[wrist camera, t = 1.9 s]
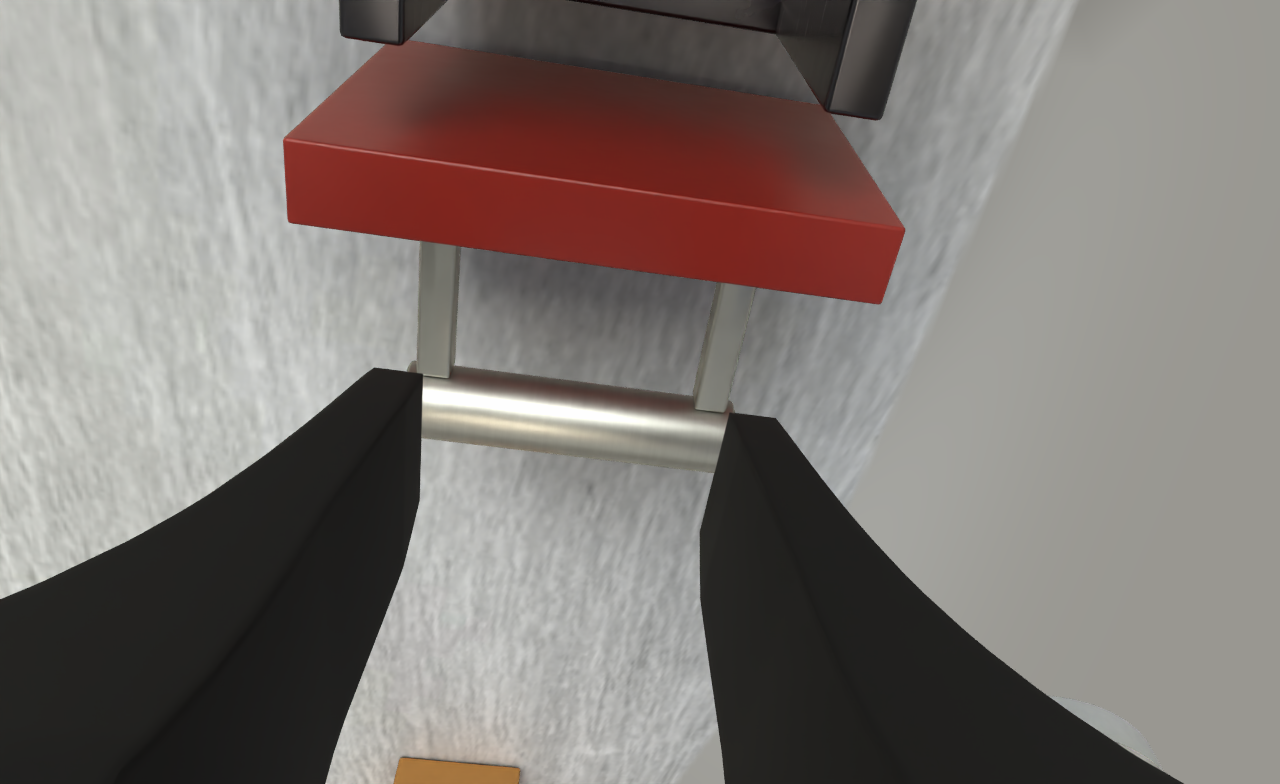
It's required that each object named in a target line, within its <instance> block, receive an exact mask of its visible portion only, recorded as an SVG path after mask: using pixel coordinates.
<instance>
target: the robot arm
mask: <svg viewBox="0 0 1280 784" xmlns="http://www.w3.org/2000/svg"><path fill="white" fill-rule="evenodd" d="M422 398H423V374H422V373H414V372H406V371H398V370H390V369H382V368H373V369H372V370H370V371H369V372H367V373H366V374H365V375H364V376H362V377H361V378H360V379H359V380H357V381H356V382H355V383H354V384H353V385H351V386H350V387H349V388H348V389H347V390H346V391H344V392H343V393H342V394H341V395H340V396H338V397H337V398H336V399H335V400H334V401H333V402H331V403H330V404H329V405H328V406H327V407H325V408H324V409H323V410H322V411H321V412H319V413H318V414H317V415H316V416H315V417H313V418H312V419H311V420H310V421H308V422H307V423H306V424H305V425H303V426H302V427H301V428H299V429H298V430H297V431H296V432H294V433H293V434H292V435H291V436H289V437H288V438H287V439H285V440H284V441H283V442H282V443H280V444H279V445H278V446H276V447H275V448H274V449H273V450H271V451H270V452H269V453H267V454H266V455H265V456H263V457H262V458H261V459H259V460H258V461H256V462H255V463H253V464H252V465H251V466H249V467H248V468H246V469H245V470H243V471H242V472H240V473H239V474H238V475H236V476H235V477H233V478H232V479H230V480H229V481H228V482H226V483H225V484H223V485H222V486H220V487H219V488H217V489H216V490H215V491H213V492H212V493H210V494H209V495H207V496H205V497H204V498H202V499H201V500H199V501H197V502H196V503H194V504H192V505H191V506H189V507H188V508H186V509H184V510H183V511H181V512H179V513H177V514H176V515H174V516H172V517H170V518H169V519H167V520H165V521H163V522H161V523H160V524H158V525H156V526H154V527H153V528H151V529H149V530H147V531H145V532H144V533H142V534H140V535H138V536H136V537H134V538H132V539H130V540H129V541H127V542H125V543H123V544H121V545H119V546H116V547H114V548H112V549H110V550H108V551H106V552H104V553H102V554H100V555H98V556H96V557H93V558H91V559H89V560H87V561H85V562H83V563H81V564H79V565H77V566H75V567H72V568H70V569H68V570H66V571H64V572H62V573H60V574H58V575H56V576H54V577H52V578H49V579H47V580H45V581H43V582H41V583H38V584H36V585H34V586H31V587H29V588H27V589H24V590H22V591H19V592H17V593H15V594H12V595H10V596H7V597H5V598H3V599H0V784H325V783H326V779H327V775H328V772H329V768H330V764H331V761H332V757H333V753H334V750H335V747H336V744H337V741H338V738H339V735H340V732H341V729H342V727H343V724H344V721H345V718H346V715H347V712H348V710H349V707H350V705H351V702H352V699H353V697H354V694H355V692H356V689H357V687H358V684H359V681H360V679H361V676H362V674H363V671H364V668H365V666H366V663H367V661H368V658H369V656H370V653H371V650H372V648H373V645H374V643H375V640H376V637H377V635H378V632H379V630H380V627H381V625H382V622H383V619H384V617H385V614H386V611H387V609H388V606H389V604H390V601H391V598H392V596H393V593H394V590H395V588H396V585H397V583H398V580H399V577H400V574H401V572H402V569H403V566H404V562H405V558H406V554H407V550H408V546H409V542H410V538H411V534H412V530H413V526H414V521H415V517H416V513H417V509H418V505H419V500H420V467H421V433H422ZM700 600H701V608H702V615H703V623H704V630H705V637H706V645H707V652H708V659H709V666H710V673H711V680H712V687H713V694H714V701H715V708H716V715H717V722H718V729H719V736H720V742H721V749H722V758H723V768H724V779H725V784H1183V783H1182V782H1180V781H1178V780H1177V779H1175V778H1173V777H1171V776H1170V775H1168V774H1166V773H1165V772H1163V771H1161V770H1160V769H1158V768H1156V767H1154V766H1153V765H1151V764H1149V763H1148V762H1146V761H1144V760H1142V759H1141V758H1139V757H1138V756H1136V755H1134V754H1133V753H1131V752H1130V751H1128V750H1126V749H1125V748H1123V747H1122V746H1120V745H1119V744H1117V743H1116V742H1114V741H1113V740H1111V739H1110V738H1108V737H1107V736H1105V735H1104V734H1102V733H1101V732H1099V731H1098V730H1096V729H1095V728H1093V727H1092V726H1090V725H1089V724H1087V723H1086V722H1084V721H1083V720H1081V719H1080V718H1078V717H1077V716H1075V715H1074V714H1072V713H1071V712H1070V711H1068V710H1067V709H1065V708H1064V707H1063V706H1061V705H1060V704H1058V703H1057V702H1056V701H1054V700H1053V699H1051V698H1050V697H1049V696H1047V695H1046V694H1044V693H1043V692H1042V691H1040V690H1039V689H1037V688H1036V687H1035V686H1033V685H1032V684H1031V683H1029V682H1028V681H1027V680H1026V679H1024V678H1023V677H1022V676H1021V675H1019V674H1018V673H1017V672H1015V671H1014V670H1013V669H1012V668H1010V667H1009V666H1008V665H1006V664H1005V663H1004V662H1003V661H1001V660H1000V659H998V658H997V657H996V656H995V655H994V654H992V653H991V652H990V651H988V650H987V649H986V648H985V647H984V646H983V645H981V644H980V643H979V642H978V641H977V640H975V639H974V638H973V637H972V636H971V635H969V634H968V633H967V632H966V631H965V630H964V629H962V628H961V627H960V626H959V625H958V624H957V623H956V622H955V621H954V620H953V619H952V618H950V617H949V616H948V615H947V614H946V613H945V612H944V611H943V610H942V609H941V608H939V607H938V606H937V605H936V604H935V603H934V602H933V601H932V600H931V599H930V598H929V597H927V596H926V595H925V594H924V593H923V592H922V591H921V590H920V589H919V588H918V587H917V586H916V585H915V584H914V583H913V582H912V581H911V580H910V579H909V578H908V577H907V576H906V575H905V574H904V573H903V572H902V571H901V570H900V569H899V568H898V567H897V566H896V565H895V563H894V562H893V561H892V560H891V559H890V558H889V557H888V556H887V555H886V554H885V553H884V552H883V551H882V550H881V548H880V547H879V546H878V545H877V544H876V543H875V542H874V541H873V540H872V539H871V537H870V536H869V535H868V534H867V533H866V532H865V531H864V530H863V528H862V527H861V526H860V525H859V524H858V523H857V521H855V519H854V518H853V517H852V516H851V514H850V513H849V512H848V511H847V509H846V508H845V507H844V506H843V505H842V503H841V502H840V501H839V500H838V498H837V497H836V496H835V495H834V494H833V492H832V491H831V490H830V488H829V487H828V486H827V485H826V483H825V482H824V481H823V480H822V478H821V477H820V476H819V474H818V473H817V472H816V470H815V469H814V468H813V467H812V465H811V464H810V463H809V461H808V460H807V459H806V457H805V456H804V455H803V453H802V452H801V451H800V449H799V448H798V447H797V445H796V444H795V443H794V441H793V440H792V439H791V437H790V436H789V435H788V433H787V432H786V431H785V429H784V428H783V427H782V425H781V424H780V423H779V422H778V420H777V419H776V418H771V417H763V416H755V415H747V414H739V413H731V412H729V416H728V420H727V424H726V428H725V432H724V436H723V440H722V444H721V449H720V453H719V457H718V461H717V465H716V469H715V473H714V477H713V481H712V485H711V489H710V493H709V497H708V501H707V505H706V509H705V513H704V517H703V521H702V525H701V529H700Z"/></svg>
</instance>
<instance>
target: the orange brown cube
mask: <svg viewBox="0 0 1280 784" xmlns="http://www.w3.org/2000/svg"><path fill="white" fill-rule="evenodd" d="M519 777H520V769H519V768H512V767H501V766H489V765H478V764H467V763H456V762H445V761H434V760H423V759H412V758H400V760H399V763H398V767H397V771H396V775H395V779H394V783H393V784H519Z"/></svg>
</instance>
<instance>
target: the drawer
mask: <svg viewBox="0 0 1280 784" xmlns="http://www.w3.org/2000/svg"><path fill="white" fill-rule="evenodd" d="M447 1H448V0H339V19H340V33H341V36H343V37H345V38H349V39H356V40H362V41H369V42H375V43H381V44H385V45H384V46H383V47H382V48H381V49H380V50H379V51H378V52H377V53H376V54H375V55H374V56H372V57H371V58H370V59H369V60H368V61H367V62H366V63H365V64H364V65H363V66H362V67H360V68H359V69H358V70H357V71H356V72H355V73H354V74H353V75H352V76H351V77H350V78H349V79H347V80H346V81H345V82H344V83H343V84H342V85H341V86H340V87H339V88H338V89H337V90H335V91H334V92H333V93H332V94H331V95H330V96H329V97H328V98H327V99H326V100H325V101H324V102H322V103H321V104H320V105H319V106H318V107H317V108H316V109H315V110H314V111H313V112H312V113H310V114H309V115H308V116H307V117H306V118H305V119H304V120H303V121H302V122H301V123H300V124H299V125H297V126H296V127H295V128H294V129H293V130H292V131H291V132H290V133H289V134H288V135H287V136H285V137H284V139H283V148H284V165H285V182H286V199H287V216H288V222H289V223H293V224H301V225H308V226H315V227H322V228H329V229H337V230H344V231H351V232H358V233H366V234H373V235H380V236H387V237H395V238H402V239H409V240H416V241H420V250H419V291H418V332H417V361H412V362H411V363H410V365H409V367H408V369H407V372H414V373H422V374H423V398H422V433H421V438H424V439H433V440H441V441H449V442H458V443H466V444H474V445H483V446H491V447H499V448H508V449H516V450H524V451H533V452H541V453H549V454H558V455H566V456H574V457H583V458H591V459H599V460H608V461H616V462H624V463H633V464H641V465H649V466H657V467H666V468H674V469H682V470H691V471H699V472H707V473H715V469H716V465H717V461H718V457H719V453H720V449H721V444H722V440H723V436H724V432H725V428H726V424H727V420H728V416H729V412H731V413H735V410H734V405H733V403H732V402H731V401H729V396H730V392H731V388H732V384H733V380H734V376H735V372H736V368H737V364H738V359H739V355H740V351H741V347H742V343H743V339H744V335H745V331H746V327H747V323H748V319H749V315H750V310H751V306H752V302H753V298H754V294H755V290H756V288H763V289H771V290H778V291H785V292H792V293H799V294H807V295H814V296H821V297H828V298H836V299H843V300H850V301H857V302H865V303H872V304H881V303H882V300H883V297H884V294H885V291H886V288H887V285H888V282H889V279H890V276H891V273H892V270H893V267H894V264H895V261H896V258H897V255H898V252H899V249H900V246H901V243H902V240H903V237H904V234H905V228H904V226H903V224H902V223H901V221H900V220H899V218H898V217H897V215H896V214H895V212H894V211H893V209H892V208H891V206H890V204H889V203H888V201H887V200H886V198H885V197H884V195H883V194H882V192H881V191H880V189H879V188H878V186H877V184H876V183H875V181H874V180H873V178H872V177H871V175H870V174H869V172H868V171H867V169H866V168H865V166H864V164H863V163H862V161H861V160H860V158H859V157H858V155H857V154H856V152H855V151H854V149H853V148H852V146H851V145H850V143H849V141H848V140H847V138H846V137H845V135H844V134H843V132H842V131H841V129H840V128H839V126H838V125H837V123H836V121H835V120H834V118H833V117H832V115H831V114H837V115H843V116H850V117H856V118H863V119H869V120H875V121H876V120H880V119H881V118H882V116H883V114H884V111H885V107H886V104H887V100H888V97H889V94H890V90H891V87H892V83H893V80H894V77H895V73H896V70H897V66H898V63H899V60H900V56H901V53H902V49H903V46H904V43H905V39H906V36H907V32H908V29H909V26H910V22H911V19H912V16H913V12H914V9H915V5H916V2H917V0H567V1H574V2H580V3H586V4H592V5H598V6H604V7H610V8H617V9H623V10H629V11H635V12H641V13H647V14H654V15H660V16H666V17H672V18H678V19H684V20H690V21H697V22H703V23H709V24H715V25H721V26H727V27H733V28H740V29H746V30H752V31H758V32H764V33H770V34H776V36H777V37H778V39H779V40H780V42H781V43H782V45H783V47H784V48H785V50H786V51H787V53H788V54H789V56H790V58H791V59H792V61H793V62H794V64H795V65H796V67H797V69H798V70H799V72H800V73H801V75H802V76H803V78H804V80H805V81H806V83H807V84H808V86H809V87H810V89H811V91H812V92H813V94H814V95H815V97H816V98H817V100H818V102H819V103H820V105H819V104H813V103H807V102H800V101H794V100H787V99H781V98H775V97H768V96H762V95H756V94H749V93H743V92H736V91H730V90H724V89H717V88H711V87H705V86H698V85H692V84H685V83H679V82H673V81H666V80H660V79H653V78H647V77H641V76H634V75H628V74H622V73H615V72H609V71H602V70H596V69H590V68H583V67H577V66H571V65H564V64H558V63H551V62H545V61H539V60H532V59H526V58H519V57H513V56H507V55H500V54H494V53H488V52H481V51H475V50H468V49H462V48H456V47H449V46H443V45H437V44H430V43H424V42H417V41H411V40H409V39H410V38H411V37H412V36H413V35H414V34H415V33H416V32H417V31H418V30H419V29H420V28H421V27H422V26H423V25H424V24H425V23H426V22H427V21H428V20H429V19H430V18H431V17H432V16H433V15H434V14H435V13H436V12H437V11H438V10H439V9H440V8H441V7H442V6H443V5H444V4H445V3H446V2H447ZM830 113H831V114H830ZM461 247H467V248H474V249H481V250H489V251H496V252H503V253H510V254H517V255H525V256H532V257H539V258H546V259H554V260H561V261H568V262H575V263H583V264H590V265H597V266H604V267H611V268H619V269H626V270H633V271H640V272H648V273H655V274H662V275H669V276H677V277H684V278H691V279H698V280H705V281H713V282H717V283H716V287H715V292H714V296H713V301H712V306H711V310H710V315H709V319H708V324H707V329H706V333H705V338H704V342H703V347H702V351H701V356H700V361H699V365H698V370H697V374H696V379H695V384H694V388H693V396H690V395H682V394H674V393H666V392H658V391H650V390H643V389H635V388H627V387H619V386H611V385H603V384H595V383H588V382H580V381H572V380H564V379H556V378H548V377H540V376H532V375H525V374H517V373H509V372H501V371H493V370H485V369H477V368H470V367H462V366H454V363H455V352H456V332H457V313H458V293H459V273H460V254H461Z"/></svg>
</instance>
